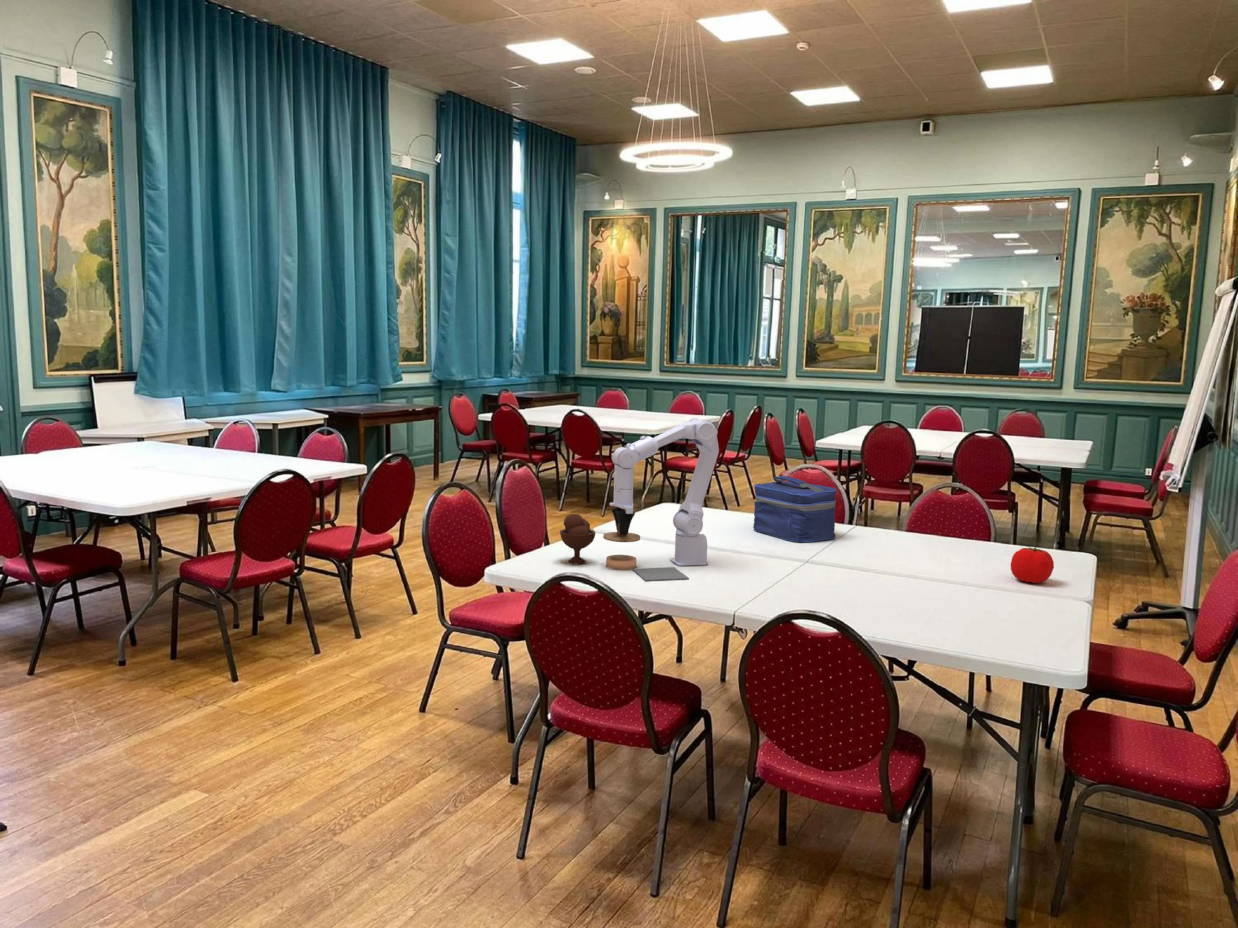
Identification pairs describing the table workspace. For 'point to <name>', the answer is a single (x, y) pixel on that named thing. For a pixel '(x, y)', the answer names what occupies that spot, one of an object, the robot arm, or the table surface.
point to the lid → (621, 536)
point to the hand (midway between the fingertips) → (622, 533)
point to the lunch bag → (795, 510)
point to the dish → (621, 562)
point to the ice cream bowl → (577, 536)
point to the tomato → (1032, 565)
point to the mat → (660, 574)
